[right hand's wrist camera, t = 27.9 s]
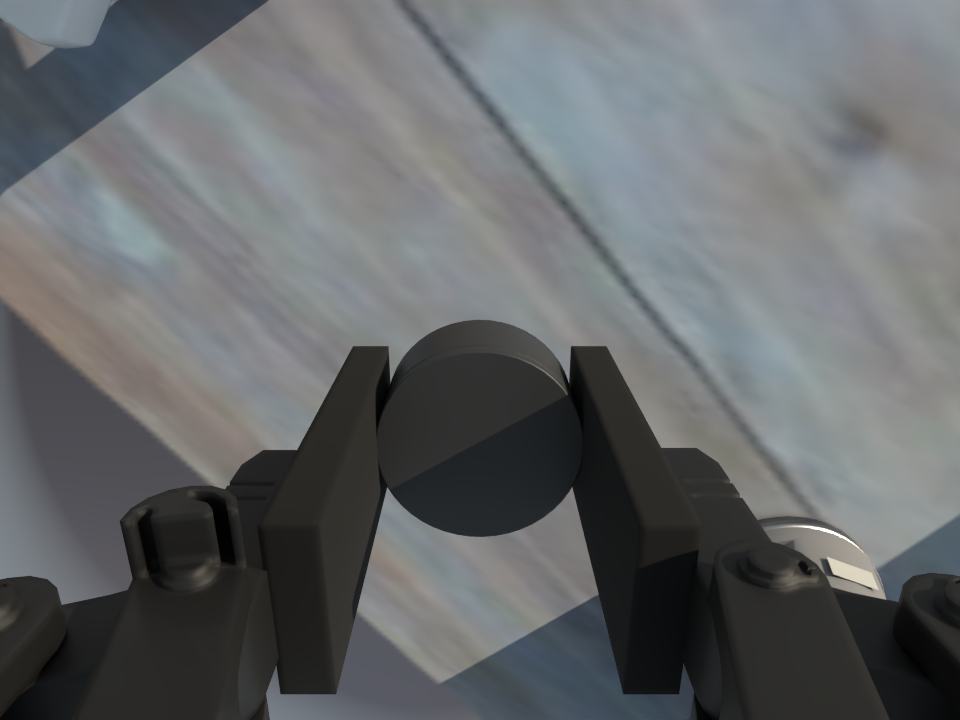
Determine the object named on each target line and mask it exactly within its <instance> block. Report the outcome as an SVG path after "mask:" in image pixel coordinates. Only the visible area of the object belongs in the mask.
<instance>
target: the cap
mask: <svg viewBox="0 0 960 720" xmlns="http://www.w3.org/2000/svg"><path fill="white" fill-rule="evenodd" d="M376 435H377V453H378V466H379V469H380V472H381V475H382V477H383V479H384V481H385V483H386V485H387V487H388V489H389V490H390V491H391V493H392V494H393V496H394V497H395V498H396V500H397V501H398V502H399V503H400V504H401V505H402V506H403V507H404V508H405V509H406V510H407V511H409V512H410V513H411V514H412V515H414V516H415V517H416V518H418V519H419V520H421V521H423V522H424V523H426V524H428V525H430V526H432V527H434V528H437V529H440V530H442V531H445V532H449V533H453V534H457V535H464V536H474V537H486V536H497V535H502V534H507V533H511V532H514V531H517V530H520V529H523V528H525V527H527V526H529V525H531V524H533V523H535V522H537V521H538V520H540V519H542V518H543V517H545V516H546V515H547V514H548V513H550V512H551V511H552V510H553V509H554V508H555V507H556V506H557V505H559V504H560V503H561V502H562V500H563V499H564V498H565V496H566V495H567V494H568V492H569V491H570V489H571V488H572V486H573V484H574V482H575V481H576V478H577V476H578V473H579V471H580V468H581V461H582V445H583V428H582V423H581V419H580V416H579V413H578V410H577V407H576V404H575V401H574V398H573V395H572V392H571V388H570V385H569V382H568V380H567V377H566V374H565V372H564V370H563V368H562V366H561V364H560V362H559V361H558V359H557V358H556V357H555V355H554V354H553V353H552V352H551V351H550V350H549V348H548V347H547V346H546V345H545V344H543V343H542V342H541V341H540V340H538V339H537V338H536V337H534V336H533V335H531V334H529V333H528V332H526V331H524V330H522V329H520V328H517V327H515V326H512V325H509V324H506V323H502V322H496V321H490V320H471V321H463V322H458V323H454V324H450V325H447V326H445V327H442V328H439V329H438V330H436V331H434V332H432V333H430V334H428V335H427V336H425V337H424V338H422V339H421V340H420V341H418V342H417V343H416V344H415V345H414V346H413V347H412V348H411V349H410V350H409V351H408V352H407V354H406V355H405V356H404V357H403V359H402V360H401V362H400V363H399V365H398V367H397V369H396V371H395V373H394V376H393V378H392V381H391V384H390V387H389V390H388V393H387V396H386V399H385V402H384V405H383V408H382V411H381V414H380V418H379V421H378V425H377V430H376Z"/></svg>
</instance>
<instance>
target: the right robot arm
mask: <svg viewBox="0 0 960 720" xmlns="http://www.w3.org/2000/svg"><path fill="white" fill-rule="evenodd" d="M569 385H570V388H571V392H572V395H573V398H574V401H575V404H576V407H577V410H578V413H579V416H580V419H581V423H582V428H583V445H582V461H581V468H580V471H579V473H578V476H577V478H576V481H575V482H574V484H573V486H572V487H573V491H574V495H575V499H576V503H577V507H578V511H579V516H580V520H581V524H582V528H583V532H584V536H585V540H586V544H587V548H588V552H589V556H590V560H591V564H592V568H593V572H594V576H595V581H596V585H597V589H598V593H599V597H600V601H601V605H602V609H603V613H604V617H605V621H606V625H607V629H608V633H609V637H610V641H611V646H612V650H613V654H614V658H615V662H616V666H617V670H618V674H619V678H620V682H621V686H622V690H623V694H679V690H680V683H681V676H682V669H683V662H684V665H685V668H686V670H687V673H688V676H689V679H690V681H691V684H692V687H693V689H694V698H693V704H692V711H691V717H690V719H687V720H960V577H959V576H955V575H947V574H936V573H928V574H922V575H917V576H913V577H912V578H910V579H909V580H908V581H907V582H906V583H905V584H904V585H903V588H902V592H901V595H900V599H899V602H895V601H890V600H886V597H885V592H884V588H883V584H882V581H881V579H880V576H879V574H878V572H877V571H876V569H875V568H874V566H873V564H872V562H871V561H870V559H869V558H868V557H867V555H866V554H865V553H864V552H863V551H862V550H861V549H860V547H859V546H858V545H857V544H856V543H855V542H854V541H853V540H852V539H851V538H850V537H849V536H848V535H846V534H845V533H844V532H842V531H841V530H839V529H837V528H835V527H834V526H831V525H829V524H827V523H824V522H821V521H818V520H814V519H809V518H802V517H774V518H767V519H762V520H758V521H757V519H756V518H755V516H754V515H753V513H752V512H751V510H750V509H749V507H748V506H747V504H746V503H745V501H744V500H743V498H740V494H739V493H738V491H737V490H736V488H735V487H734V485H733V484H732V483H730V479H729V478H728V476H727V475H726V473H725V472H724V470H723V469H722V468H721V466H720V465H719V463H718V462H716V461H715V460H713V459H712V458H710V457H709V456H707V455H706V454H704V453H703V452H701V451H700V450H699V449H697V448H661V447H660V445H659V443H658V441H657V439H656V438H655V436H654V434H653V432H652V430H651V428H650V426H649V425H648V423H647V421H646V419H645V417H644V415H643V413H642V412H641V410H640V408H639V406H638V404H637V402H636V400H635V399H634V397H633V395H632V393H631V391H630V389H629V387H628V386H627V384H626V382H625V380H624V378H623V376H622V374H621V373H620V371H619V369H618V367H617V365H616V363H615V361H614V360H613V358H612V356H611V354H610V352H609V350H608V349H607V347H606V346H571V359H570V379H569ZM389 387H390V368H389V349H388V346H353V348H352V350H351V351H350V353H349V355H348V357H347V359H346V361H345V362H344V364H343V366H342V368H341V370H340V372H339V374H338V375H337V377H336V379H335V381H334V383H333V385H332V387H331V388H330V390H329V392H328V394H327V396H326V398H325V400H324V401H323V403H322V405H321V407H320V409H319V411H318V413H317V414H316V416H315V418H314V420H313V422H312V424H311V426H310V427H309V429H308V431H307V433H306V435H305V437H304V439H303V440H302V442H301V444H300V446H299V448H298V450H263V451H261V452H260V453H259V454H257V455H256V456H254V457H253V458H251V459H250V460H248V461H247V462H245V463H244V464H242V465H241V467H240V468H239V470H238V471H237V473H236V474H235V475H234V477H233V478H232V480H231V481H230V486H227V487H226V489H221V488H217V487H214V486H188V487H183V488H177V489H172V490H168V491H165V492H163V493H160V494H157V495H155V496H152V497H149V498H147V499H146V500H144V501H142V502H141V503H139V504H137V505H136V506H134V507H133V508H131V509H130V510H129V511H128V512H127V513H126V515H125V516H124V517H123V518H122V519H121V520H120V524H121V529H122V533H123V538H124V542H125V546H126V551H127V555H128V560H129V564H130V569H131V573H132V577H133V580H132V582H131V584H130V586H129V589H128V590H126V591H122V592H119V593H115V594H111V595H107V596H103V597H98V598H93V599H88V600H84V601H79V602H74V603H69V604H65V605H61V601H60V597H59V594H58V590H57V587H55V586H54V585H53V584H52V583H51V582H50V581H49V580H47V579H43V578H38V577H32V576H25V577H14V578H6V579H1V580H0V720H270V718H269V711H268V704H267V698H266V691H267V689H268V686H269V683H270V681H271V678H272V675H273V672H274V670H275V667H276V665H277V671H278V679H279V686H280V693H281V694H336V692H337V688H338V684H339V680H340V676H341V672H342V668H343V664H344V660H345V656H346V652H347V648H348V644H349V640H350V636H351V632H352V627H353V623H354V619H355V615H356V611H357V607H358V603H359V599H360V595H361V591H362V587H363V583H364V579H365V575H366V571H367V567H368V563H369V558H370V554H371V550H372V546H373V542H374V538H375V534H376V530H377V526H378V522H379V518H380V514H381V510H382V506H383V502H384V498H385V494H386V489H387V485H386V483H385V481H384V479H383V477H382V475H381V472H380V469H379V466H378V453H377V435H376V430H377V425H378V421H379V418H380V414H381V411H382V408H383V405H384V402H385V399H386V396H387V393H388V390H389Z"/></svg>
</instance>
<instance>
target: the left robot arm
mask: <svg viewBox="0 0 960 720" xmlns="http://www.w3.org/2000/svg"><path fill="white" fill-rule="evenodd" d="M111 1H112V0H0V19H2V20H3V21H4V22H6V23H7V24H9V25H10V26H11V27H13V28H14V29H16V30H17V31H18V32H20V33H21V34H23V35H24V36H26V37H28V38H29V39H31V40H33V41H35V42H37V43H40V44H43V45H47V46H51V47H56V48H64V49H70V48H79V47H86V46H90V45H92V44H93V43H94V41H95V39H96V37H97V35H98V32H99V30H100V28H101V25H102V23H103V21H104V18H105V16H106V13H107V11H108V9H109V6H110V4H111Z"/></svg>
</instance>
